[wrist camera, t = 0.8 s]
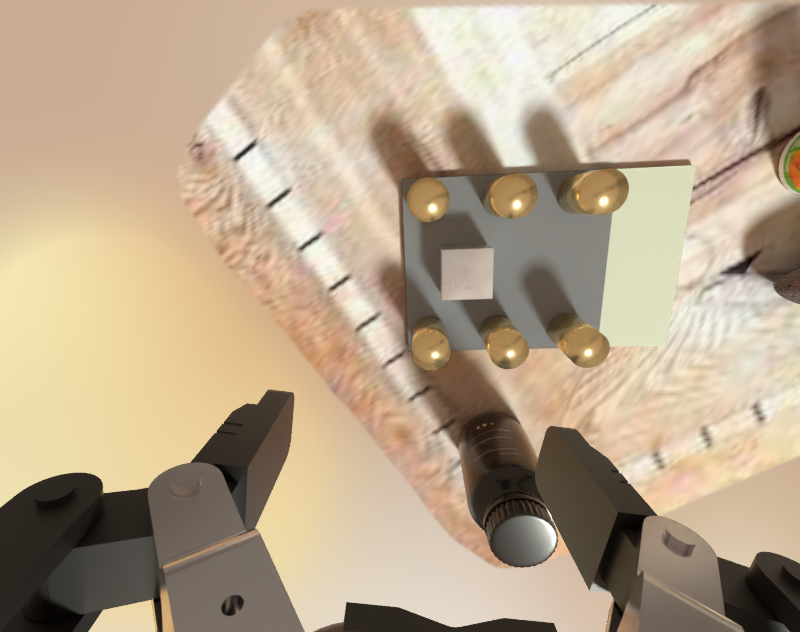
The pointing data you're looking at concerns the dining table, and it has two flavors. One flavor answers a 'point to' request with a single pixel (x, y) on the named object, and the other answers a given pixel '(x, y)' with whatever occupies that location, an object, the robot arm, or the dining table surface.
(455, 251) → the white faced textured brick
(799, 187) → the supplement bottle
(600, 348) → the spacers
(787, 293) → the perforated stone tool
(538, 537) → the supplement bottle
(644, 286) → the mat
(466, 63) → the dining table surface
